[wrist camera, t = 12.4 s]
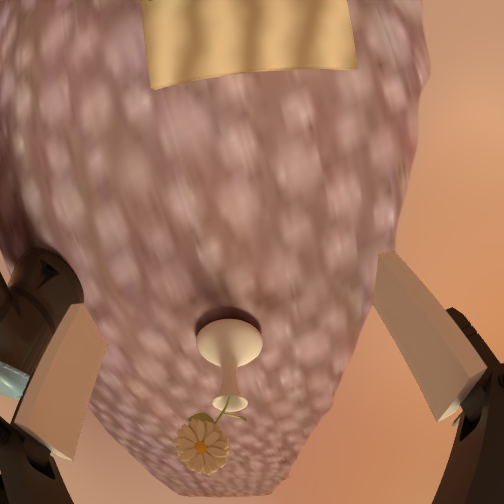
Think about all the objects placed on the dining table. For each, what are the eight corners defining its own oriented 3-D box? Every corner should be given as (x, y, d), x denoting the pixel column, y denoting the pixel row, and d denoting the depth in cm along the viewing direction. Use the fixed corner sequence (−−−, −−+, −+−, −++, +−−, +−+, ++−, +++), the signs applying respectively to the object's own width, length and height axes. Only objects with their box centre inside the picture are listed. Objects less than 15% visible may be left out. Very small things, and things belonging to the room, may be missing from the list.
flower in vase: (259, 309, 45) (277, 458, 23) (264, 353, 51) (279, 479, 29) (180, 316, 45) (158, 460, 23) (196, 359, 51) (187, 482, 29)
